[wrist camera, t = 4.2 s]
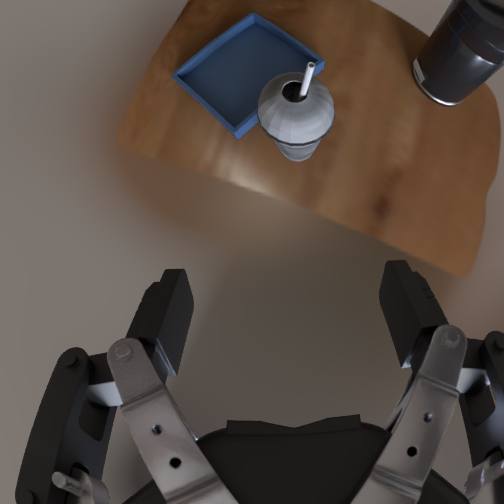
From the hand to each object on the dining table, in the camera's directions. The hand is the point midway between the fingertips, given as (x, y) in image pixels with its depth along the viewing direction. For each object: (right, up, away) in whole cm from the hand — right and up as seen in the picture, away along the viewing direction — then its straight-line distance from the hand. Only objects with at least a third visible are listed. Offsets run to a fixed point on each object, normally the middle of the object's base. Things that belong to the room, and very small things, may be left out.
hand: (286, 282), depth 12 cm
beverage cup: (+5, +15, +25) cm, 29 cm away
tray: (-2, +27, +25) cm, 36 cm away
